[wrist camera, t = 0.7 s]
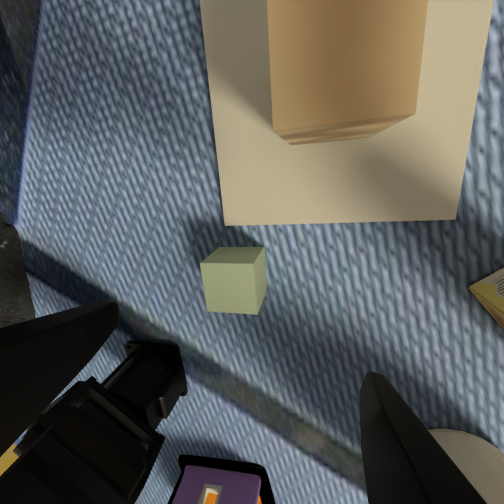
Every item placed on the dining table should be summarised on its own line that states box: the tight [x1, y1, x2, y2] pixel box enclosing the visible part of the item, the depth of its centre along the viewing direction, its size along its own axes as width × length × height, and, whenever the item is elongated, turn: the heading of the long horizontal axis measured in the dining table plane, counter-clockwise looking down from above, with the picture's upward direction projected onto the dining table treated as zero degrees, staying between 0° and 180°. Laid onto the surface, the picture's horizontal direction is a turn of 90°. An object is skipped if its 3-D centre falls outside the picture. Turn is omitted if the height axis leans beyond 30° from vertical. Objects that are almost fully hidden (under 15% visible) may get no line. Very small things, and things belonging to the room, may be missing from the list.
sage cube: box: [200, 247, 267, 315], centre depth 20 cm, size 4×4×4 cm
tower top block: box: [267, 0, 428, 140], centre depth 10 cm, size 5×5×4 cm
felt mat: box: [200, 0, 494, 226], centre depth 16 cm, size 16×16×1 cm
